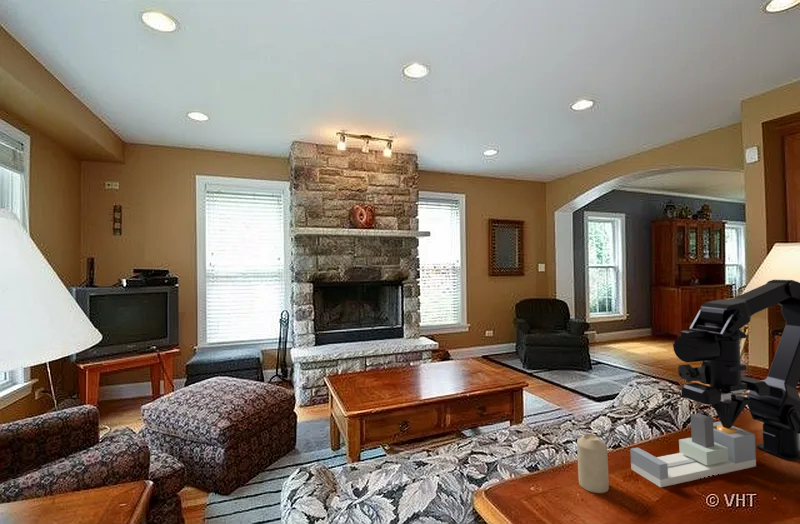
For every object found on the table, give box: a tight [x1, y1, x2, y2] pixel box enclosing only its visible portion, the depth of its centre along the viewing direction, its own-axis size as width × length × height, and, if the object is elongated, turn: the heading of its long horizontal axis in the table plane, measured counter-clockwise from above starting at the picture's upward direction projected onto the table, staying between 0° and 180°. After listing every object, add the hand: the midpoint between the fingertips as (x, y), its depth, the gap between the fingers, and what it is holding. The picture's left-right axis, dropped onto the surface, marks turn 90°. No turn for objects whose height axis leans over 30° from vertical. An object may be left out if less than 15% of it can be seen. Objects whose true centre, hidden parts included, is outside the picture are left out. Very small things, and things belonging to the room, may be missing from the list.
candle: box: [576, 433, 610, 494], centre depth 76 cm, size 6×6×10 cm
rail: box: [629, 420, 757, 488], centre depth 81 cm, size 26×7×7 cm, turn 104°
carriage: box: [678, 412, 729, 466], centre depth 82 cm, size 6×6×9 cm
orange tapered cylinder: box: [717, 425, 737, 434], centre depth 84 cm, size 3×3×6 cm
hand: (726, 427), depth 84 cm, fingers closed, pressing on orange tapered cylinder
